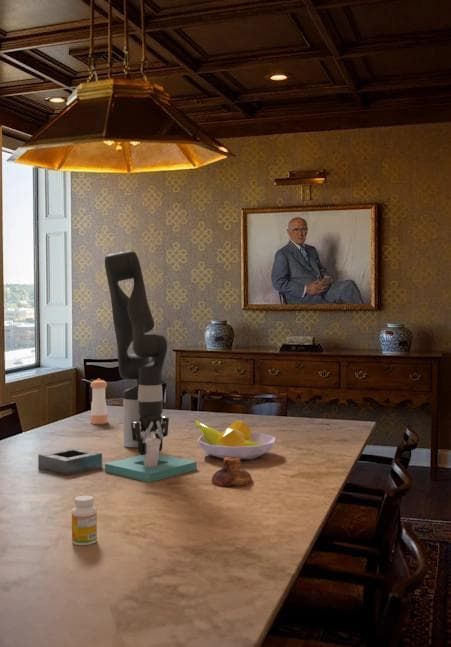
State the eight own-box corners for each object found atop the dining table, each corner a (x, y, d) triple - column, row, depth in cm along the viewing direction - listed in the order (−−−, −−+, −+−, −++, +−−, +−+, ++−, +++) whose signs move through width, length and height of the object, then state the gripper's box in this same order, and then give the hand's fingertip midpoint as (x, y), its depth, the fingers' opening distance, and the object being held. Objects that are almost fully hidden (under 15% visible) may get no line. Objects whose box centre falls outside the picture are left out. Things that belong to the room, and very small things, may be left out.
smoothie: (157, 473, 216) (157, 428, 215) (137, 472, 217) (137, 427, 217) (163, 468, 222) (163, 424, 222) (144, 467, 223) (143, 423, 223)
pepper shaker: (106, 424, 302) (105, 379, 301) (89, 424, 302) (88, 379, 301) (109, 421, 309) (108, 377, 309) (92, 421, 309) (92, 377, 309)
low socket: (152, 460, 234) (152, 452, 234) (196, 469, 221) (196, 461, 221) (105, 471, 218) (104, 463, 218) (149, 482, 205) (149, 473, 205)
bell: (205, 480, 208) (205, 455, 208) (242, 476, 213) (242, 452, 213) (221, 490, 198) (221, 464, 198) (259, 485, 203) (259, 460, 202)
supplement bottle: (73, 538, 158) (73, 494, 157) (98, 537, 158) (97, 494, 158) (70, 546, 152) (69, 501, 152) (95, 545, 153) (95, 500, 152)
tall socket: (74, 461, 233) (74, 447, 233) (102, 467, 224) (101, 453, 224) (38, 468, 222) (38, 454, 222) (65, 475, 213) (65, 461, 213)
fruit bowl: (291, 455, 241) (291, 422, 241) (238, 469, 221) (238, 433, 221) (230, 443, 260) (230, 413, 260) (176, 456, 240) (176, 422, 240)
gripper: (158, 395, 227) (158, 447, 227) (124, 400, 216) (124, 455, 216) (175, 397, 222) (175, 450, 222) (141, 402, 211) (141, 458, 211)
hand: (150, 452), depth 219 cm, fingers closed on smoothie, 6 cm apart
